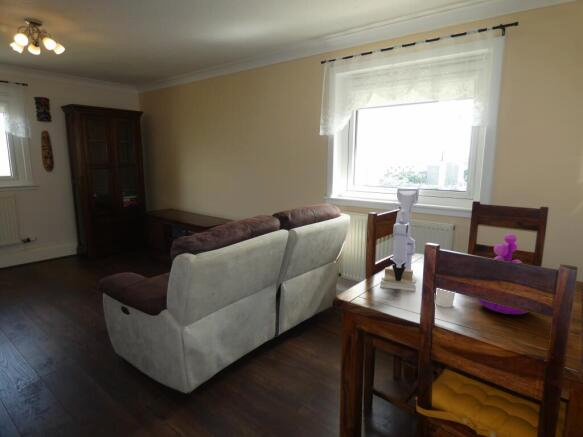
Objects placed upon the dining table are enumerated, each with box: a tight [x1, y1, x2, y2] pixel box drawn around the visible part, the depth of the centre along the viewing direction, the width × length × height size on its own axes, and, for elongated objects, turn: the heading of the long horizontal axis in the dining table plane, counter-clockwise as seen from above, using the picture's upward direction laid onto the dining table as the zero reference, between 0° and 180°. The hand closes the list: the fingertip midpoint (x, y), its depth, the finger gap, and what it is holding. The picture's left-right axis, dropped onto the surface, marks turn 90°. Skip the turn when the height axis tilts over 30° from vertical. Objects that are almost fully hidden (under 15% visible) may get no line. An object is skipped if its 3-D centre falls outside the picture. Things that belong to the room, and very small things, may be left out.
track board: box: [379, 276, 417, 292], centre depth 155 cm, size 7×15×2 cm, turn 71°
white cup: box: [435, 289, 456, 308], centre depth 135 cm, size 8×8×10 cm
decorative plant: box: [477, 233, 528, 315], centre depth 128 cm, size 19×18×30 cm
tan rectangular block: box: [384, 267, 414, 284], centre depth 154 cm, size 2×12×7 cm, turn 71°
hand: (398, 278), depth 154 cm, fingers open, 6 cm apart
